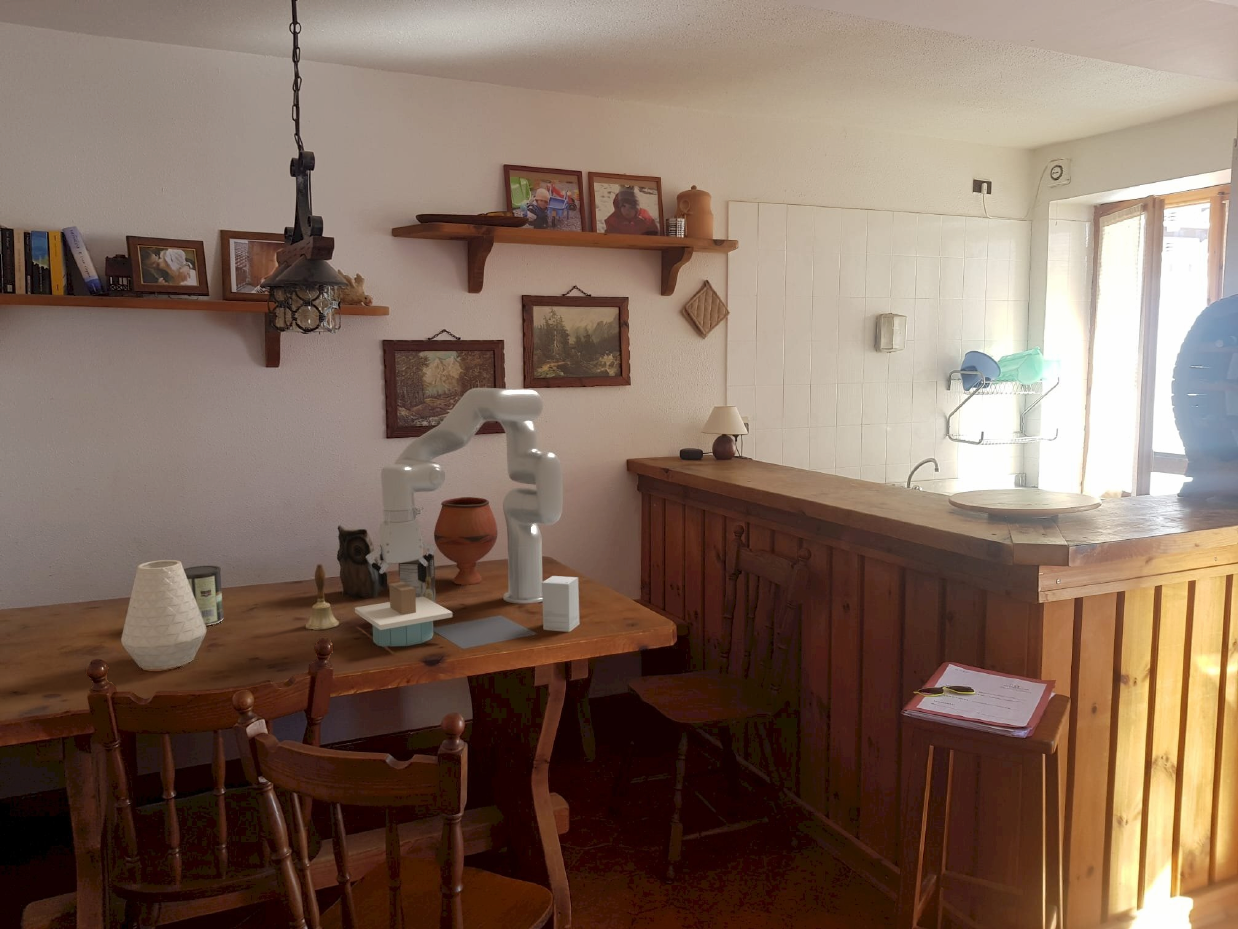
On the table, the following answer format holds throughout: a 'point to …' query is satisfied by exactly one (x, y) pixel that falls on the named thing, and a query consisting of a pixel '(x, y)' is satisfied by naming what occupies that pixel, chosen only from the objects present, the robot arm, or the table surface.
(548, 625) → the supplement box
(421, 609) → the lid
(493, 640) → the mat
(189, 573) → the coffee can
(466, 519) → the goblet
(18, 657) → the table surface
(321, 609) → the hand bell
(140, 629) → the vase
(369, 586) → the owl
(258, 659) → the table surface
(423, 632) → the bowl
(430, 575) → the coffee box
